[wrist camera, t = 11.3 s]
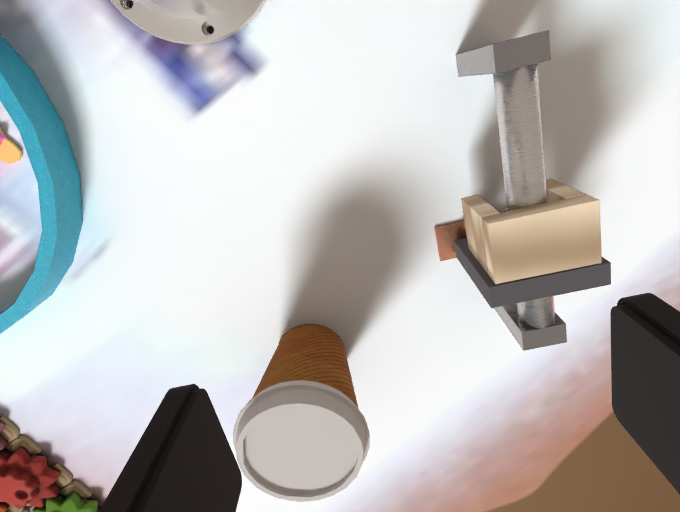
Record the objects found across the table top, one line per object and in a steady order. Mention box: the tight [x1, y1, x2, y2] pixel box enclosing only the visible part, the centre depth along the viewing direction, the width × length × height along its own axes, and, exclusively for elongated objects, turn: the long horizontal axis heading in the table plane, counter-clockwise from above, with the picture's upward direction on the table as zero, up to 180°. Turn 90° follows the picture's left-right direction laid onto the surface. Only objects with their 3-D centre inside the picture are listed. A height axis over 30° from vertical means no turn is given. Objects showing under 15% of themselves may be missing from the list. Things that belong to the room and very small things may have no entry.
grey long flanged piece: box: [434, 30, 567, 351], centre depth 31 cm, size 20×10×8 cm, turn 13°
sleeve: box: [461, 179, 602, 284], centre depth 29 cm, size 4×6×7 cm, turn 104°
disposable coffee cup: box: [233, 324, 369, 502], centre depth 35 cm, size 10×10×12 cm
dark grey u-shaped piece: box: [454, 238, 611, 308], centre depth 31 cm, size 2×7×9 cm, turn 103°
